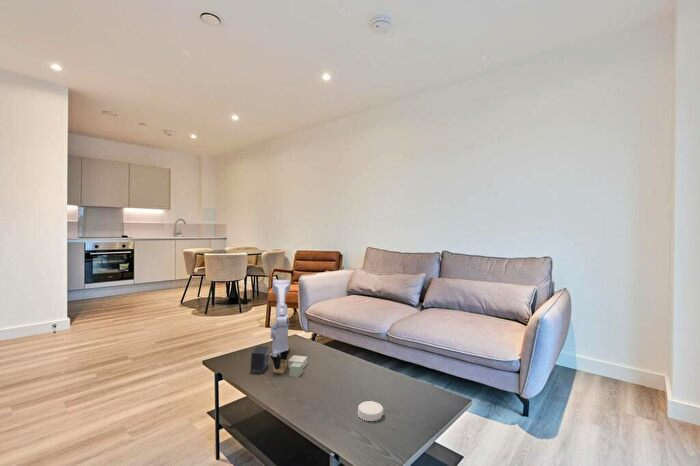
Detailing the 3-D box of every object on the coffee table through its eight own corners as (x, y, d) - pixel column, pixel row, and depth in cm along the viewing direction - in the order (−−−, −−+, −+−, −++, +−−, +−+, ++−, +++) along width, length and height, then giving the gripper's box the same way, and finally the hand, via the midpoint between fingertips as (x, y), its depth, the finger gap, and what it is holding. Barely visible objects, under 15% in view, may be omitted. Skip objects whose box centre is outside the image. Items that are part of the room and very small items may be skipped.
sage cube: (293, 372, 168) (293, 362, 168) (302, 373, 167) (303, 363, 167) (289, 376, 163) (289, 366, 163) (299, 377, 162) (299, 367, 162)
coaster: (367, 406, 137) (368, 398, 137) (387, 415, 131) (388, 406, 131) (352, 416, 129) (353, 407, 129) (373, 426, 123) (373, 416, 123)
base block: (293, 362, 181) (293, 355, 181) (307, 364, 179) (307, 356, 179) (287, 368, 173) (288, 360, 173) (302, 370, 171) (302, 362, 171)
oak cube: (277, 368, 171) (277, 358, 171) (286, 369, 170) (286, 360, 170) (273, 372, 167) (273, 362, 167) (282, 373, 165) (282, 363, 165)
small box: (262, 374, 164) (263, 353, 164) (249, 373, 164) (250, 352, 164) (268, 365, 174) (269, 346, 174) (256, 365, 174) (257, 345, 174)
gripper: (282, 344, 161) (281, 372, 160) (294, 336, 175) (293, 361, 175) (269, 343, 162) (268, 370, 162) (281, 334, 176) (280, 360, 176)
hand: (280, 366), depth 168 cm, fingers open, 7 cm apart
